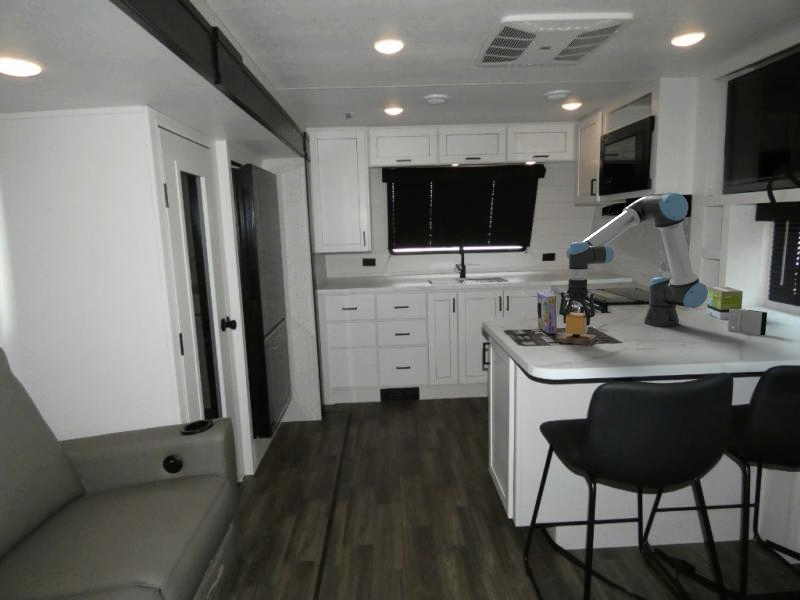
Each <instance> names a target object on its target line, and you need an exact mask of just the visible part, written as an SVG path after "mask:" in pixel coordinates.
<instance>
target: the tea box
mask: <svg viewBox="0 0 800 600" xmlns="http://www.w3.org/2000/svg"><path fill="white" fill-rule="evenodd" d="M707 289H708V295H707V303H706V304H707V305H706V306H707V308H706V314H707V315H709V316H711V317H714V318H716V319H719V320H729V309H737V310H739V309H743V308H742V307H743V305H742V304H743V294H744V292H743V290H739V289H736V288H733V287H730V286H713V287H709V286H708V287H707ZM733 315H735V313H733Z"/></svg>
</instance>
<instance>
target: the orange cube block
mask: <svg viewBox="0 0 800 600" xmlns="http://www.w3.org/2000/svg"><path fill="white" fill-rule="evenodd" d="M584 318H586V315H585V312H573V311H569V313H568V314H567V315H566V324H565V332H566V333H570V334H580V335H583V334H585V333H584Z"/></svg>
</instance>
